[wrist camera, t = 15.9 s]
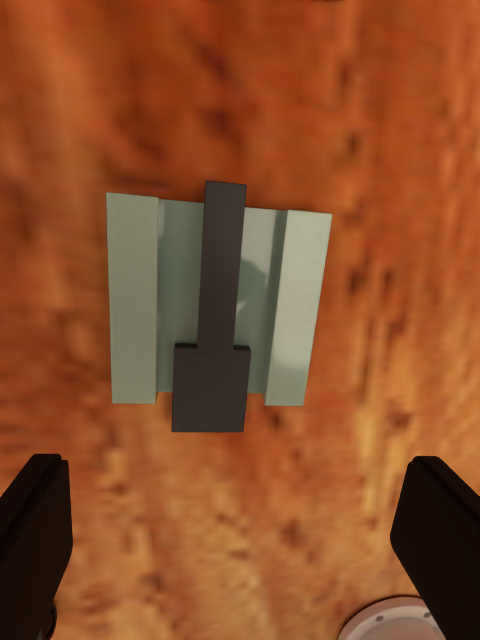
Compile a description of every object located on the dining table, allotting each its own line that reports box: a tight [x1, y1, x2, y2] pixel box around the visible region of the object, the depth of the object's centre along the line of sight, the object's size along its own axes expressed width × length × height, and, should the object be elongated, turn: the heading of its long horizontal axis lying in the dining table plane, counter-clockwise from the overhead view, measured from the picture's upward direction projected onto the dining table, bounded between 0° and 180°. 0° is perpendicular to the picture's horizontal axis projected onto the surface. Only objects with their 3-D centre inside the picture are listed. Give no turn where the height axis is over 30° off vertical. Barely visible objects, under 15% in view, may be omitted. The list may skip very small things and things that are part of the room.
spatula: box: [172, 180, 251, 432], centre depth 23 cm, size 18×6×3 cm, turn 175°
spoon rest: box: [106, 192, 333, 406], centre depth 23 cm, size 14×14×2 cm
